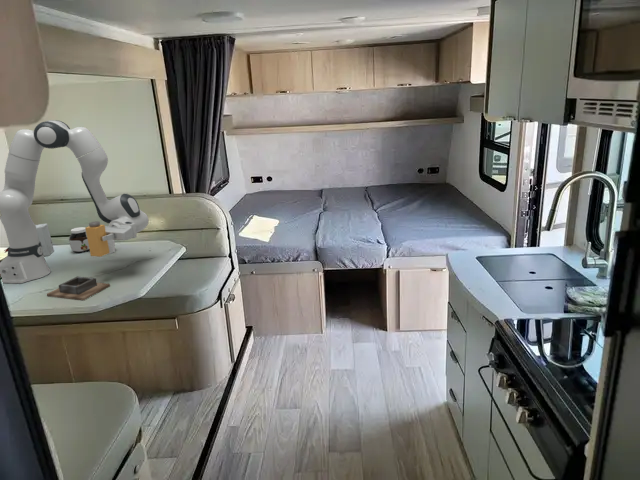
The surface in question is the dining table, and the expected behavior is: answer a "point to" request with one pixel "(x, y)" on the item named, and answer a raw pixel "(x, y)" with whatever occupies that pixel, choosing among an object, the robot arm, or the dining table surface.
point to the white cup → (111, 246)
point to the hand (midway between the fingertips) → (95, 238)
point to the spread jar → (79, 240)
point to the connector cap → (97, 239)
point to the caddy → (78, 288)
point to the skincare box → (45, 239)
